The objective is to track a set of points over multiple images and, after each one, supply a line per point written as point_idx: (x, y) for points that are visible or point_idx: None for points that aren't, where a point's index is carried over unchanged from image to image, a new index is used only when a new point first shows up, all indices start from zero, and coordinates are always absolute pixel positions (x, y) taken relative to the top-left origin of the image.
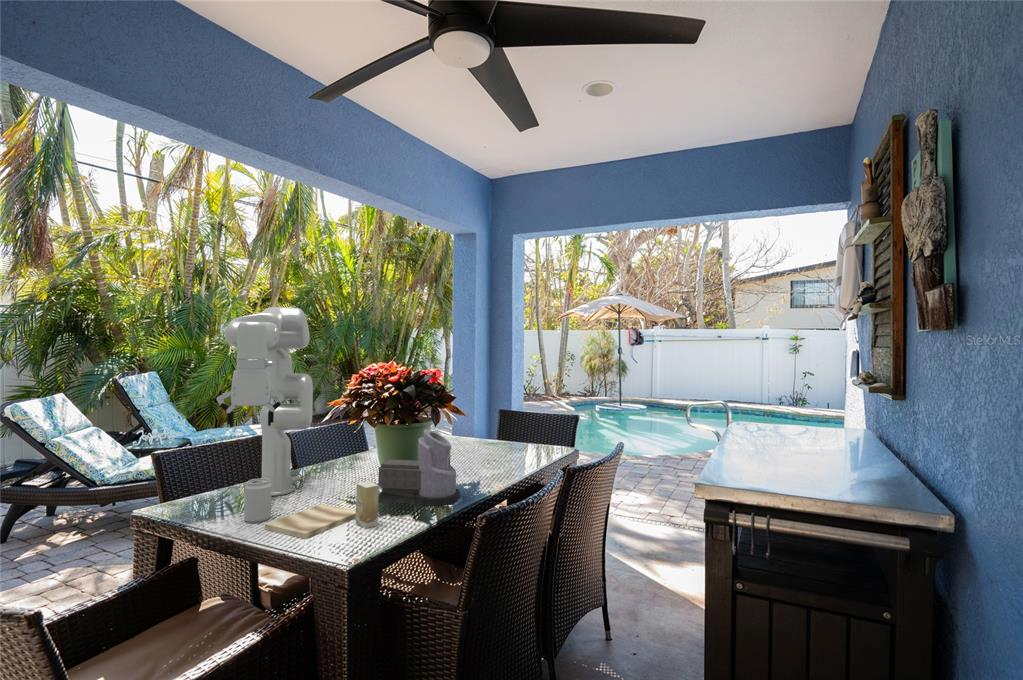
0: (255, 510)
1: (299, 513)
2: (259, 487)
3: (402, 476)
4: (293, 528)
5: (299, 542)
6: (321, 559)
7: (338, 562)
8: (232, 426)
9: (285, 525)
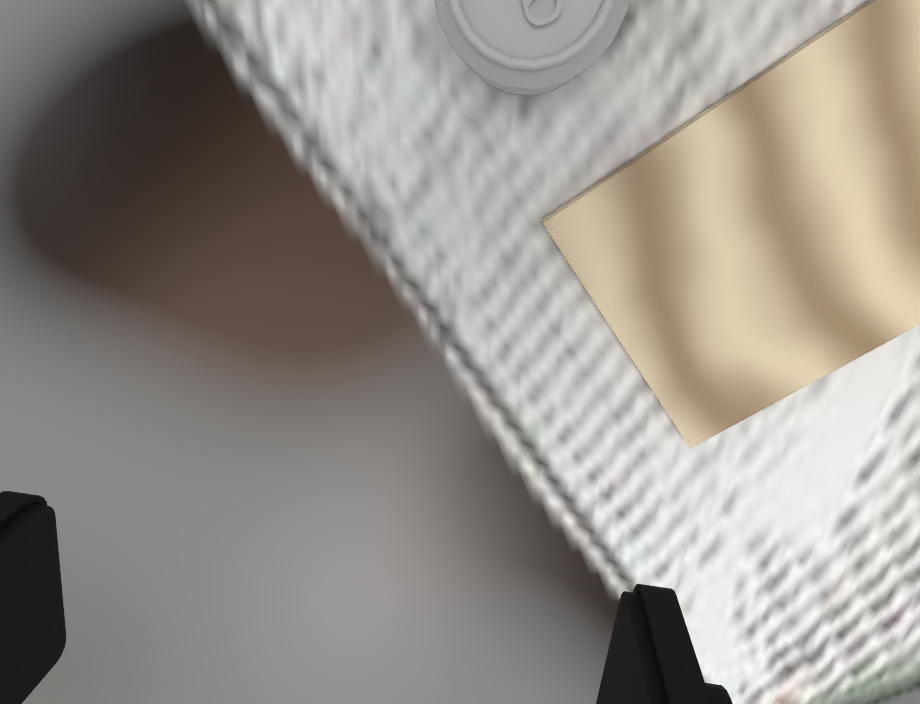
0: (508, 91)
1: (752, 111)
2: (531, 79)
3: None
4: (658, 355)
5: (651, 463)
6: None
7: None
8: (57, 655)
9: (633, 293)
